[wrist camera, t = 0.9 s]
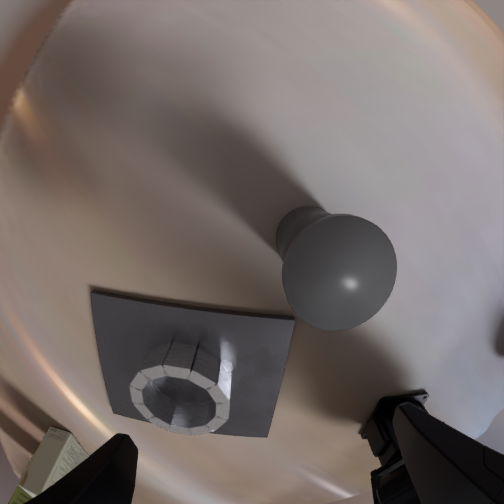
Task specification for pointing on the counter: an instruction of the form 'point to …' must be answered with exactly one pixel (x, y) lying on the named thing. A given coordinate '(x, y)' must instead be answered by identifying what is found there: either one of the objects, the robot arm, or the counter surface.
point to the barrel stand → (191, 364)
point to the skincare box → (51, 461)
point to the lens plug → (334, 267)
